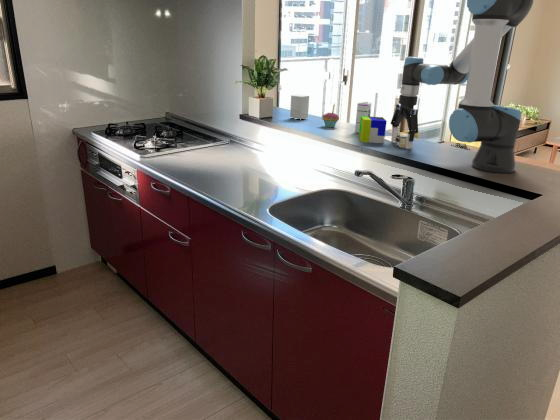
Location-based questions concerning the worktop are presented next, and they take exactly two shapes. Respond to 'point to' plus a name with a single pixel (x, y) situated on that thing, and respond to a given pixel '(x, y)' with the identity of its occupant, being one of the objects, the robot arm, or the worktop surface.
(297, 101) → the supplement box
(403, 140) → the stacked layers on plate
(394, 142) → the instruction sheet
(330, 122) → the cupcake
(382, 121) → the puzzle toy
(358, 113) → the syrup box
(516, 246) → the worktop surface
